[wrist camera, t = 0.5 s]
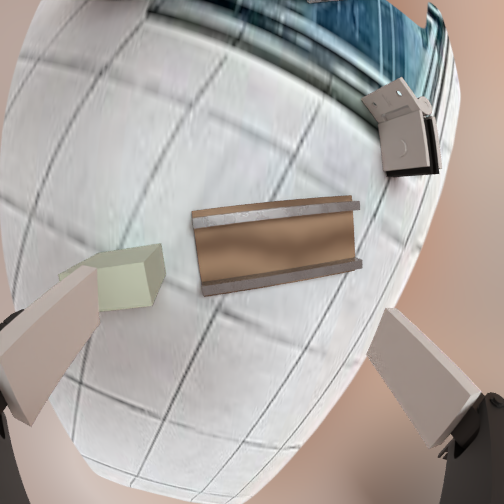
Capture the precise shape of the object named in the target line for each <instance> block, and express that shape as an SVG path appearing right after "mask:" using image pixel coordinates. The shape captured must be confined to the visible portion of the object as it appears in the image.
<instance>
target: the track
mask: <svg viewBox="0 0 504 504" xmlns="http://www.w3.org/2000/svg"><path fill="white" fill-rule="evenodd" d="M353 210H360V201H352V195H349V196H333V197H320V198H307V199H295V200H284V201H274V202H264V203H254V204H245V205H236V206H228V207H220V208H212V209H204V210H197V211H192V217H193V218H192V221H193V228H194V233H195V240H196V247H197V255H198V261H199V268H200V275H201V281H202V290H203V296H204V297H205V296H212V295H219V294H225V293H232V292H238V291H245V290H251V289H257V288H263V287H269V286H275V285H280V284H286V283H292V282H297V281H303V280H308V279H314V278H319V277H324V276H329V275H335V274H340V273H345V272H350V271H355V269H360V268H362V260H361V259H358V258H356V257H355V243H354V223H353Z"/></svg>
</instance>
